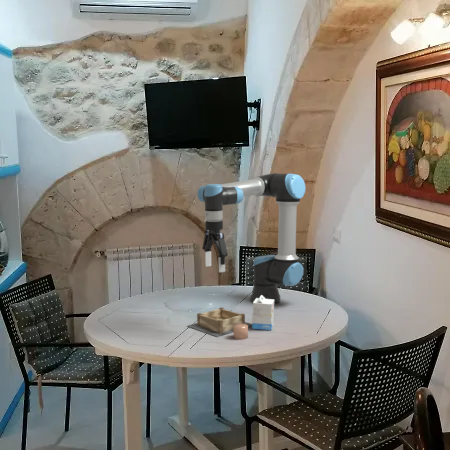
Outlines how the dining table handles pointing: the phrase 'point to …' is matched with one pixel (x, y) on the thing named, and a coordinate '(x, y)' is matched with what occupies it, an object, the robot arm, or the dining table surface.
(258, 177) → the robot arm
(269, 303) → the ink box
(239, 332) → the brown egg
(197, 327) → the crate
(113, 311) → the dining table surface
